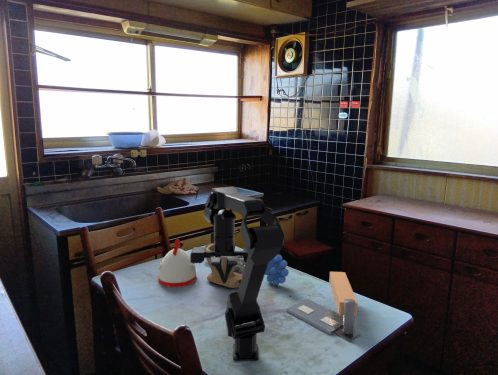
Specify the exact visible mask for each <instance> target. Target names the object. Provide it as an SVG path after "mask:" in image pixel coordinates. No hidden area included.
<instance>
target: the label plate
mask: <svg viewBox="0 0 498 375" xmlns="http://www.w3.org/2000/svg"><path fill="white" fill-rule="evenodd" d="M285 312H287V313H288V314H290V315H292V316H294V317H295V318H298V319H300V320H301V321H303V322H304V323H307V324H309V325H311V326H312V327H314V328H316V329H319V330H320V331H322V332H324V333H325V334H327V335H329V336H332V335H333V334H335V332H336V331H338V330H339V329H341V328H343V315H339V314H338V312H336V311H334V310H332V309H331V308H328V307H325V306H323V305H321V304H319V303H317V302H315V301H313V300H311V299H309V298H306V299H304V300H302V301H299V302H297V303H295V304H293V305H291V306H288V307H287V308H286V311H285Z"/></svg>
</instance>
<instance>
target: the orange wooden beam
mask: <svg viewBox="0 0 498 375" xmlns="http://www.w3.org/2000/svg"><path fill="white" fill-rule="evenodd" d="M328 282H329V285H330V286H329V287H330V289H331V294H332V296H333V300H334V303H335V307H336V310H337V313H338V314H339V315H343V332H344V333H345V334H353V332H354V330H355V317H357V316H358V301H357V298H356V295H355V293H354V291H353V288H352V285H351V283H350V281H349V279H348V277H347V274H346V272H343V271H329V280H328Z"/></svg>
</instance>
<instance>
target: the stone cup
mask: <svg viewBox="0 0 498 375" xmlns="http://www.w3.org/2000/svg"><path fill="white" fill-rule="evenodd" d="M206 251H214V244H211V245H209V246H208V247H207V248H206ZM205 259H206V262H207V263H208V266H209V268H210V270H211V271H210V272H211V273H209V274H208V275H207V276H206V279H207V281H209V282H211V283H214V284H217V285H220V286H224V287H226V288H230V289H239V287H240V283H241V280H242V276H243V274H241V273H237V272H235V271H233V268H232V269H231V271H230V273H229V276H228V279H227V281H226V283H223V282H222V280H221V277H220V275H219V273H218V271H217V269H216V268H215V266H212V265H211V261H212V260H211V258H205ZM222 260H223V269H224V276H225V270H226V263H227V258H222Z"/></svg>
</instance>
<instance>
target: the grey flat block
mask: <svg viewBox="0 0 498 375" xmlns="http://www.w3.org/2000/svg"><path fill="white" fill-rule="evenodd" d="M334 334H335V335H336V336H338V337H340V338H342V339H344V340H345V341H348V342H350V343H351V342H353V341H354V340H355V339H357V338H358V337H360V336H361V332H359V331H357V330H355V329H354V332H353V334H345V333H344V332H343V328H341V329H339V330H338V331H336V332H335V333H334Z"/></svg>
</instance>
